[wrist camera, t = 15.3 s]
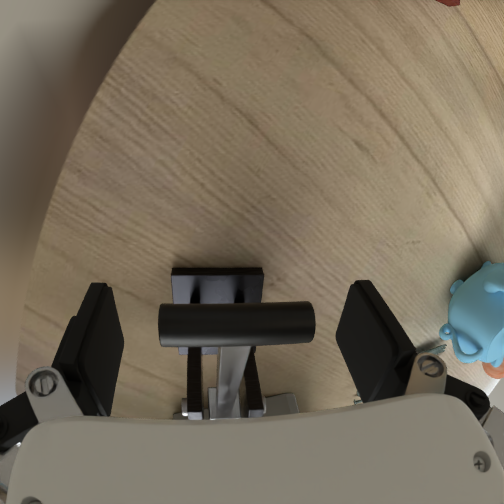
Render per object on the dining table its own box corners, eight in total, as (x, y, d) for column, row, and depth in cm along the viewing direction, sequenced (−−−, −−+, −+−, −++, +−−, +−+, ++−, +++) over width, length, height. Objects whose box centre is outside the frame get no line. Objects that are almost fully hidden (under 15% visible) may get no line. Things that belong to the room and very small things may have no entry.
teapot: (461, 330, 40) (500, 381, 31) (410, 318, 35) (458, 385, 26) (508, 263, 35) (557, 309, 25) (468, 232, 30) (535, 288, 20)
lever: (160, 282, 10) (156, 350, 9) (308, 281, 11) (321, 345, 9) (190, 395, 23) (191, 425, 21) (254, 394, 23) (256, 422, 22)
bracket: (171, 267, 28) (157, 387, 17) (262, 267, 29) (294, 382, 18) (179, 346, 33) (176, 454, 22) (253, 345, 34) (273, 450, 23)
